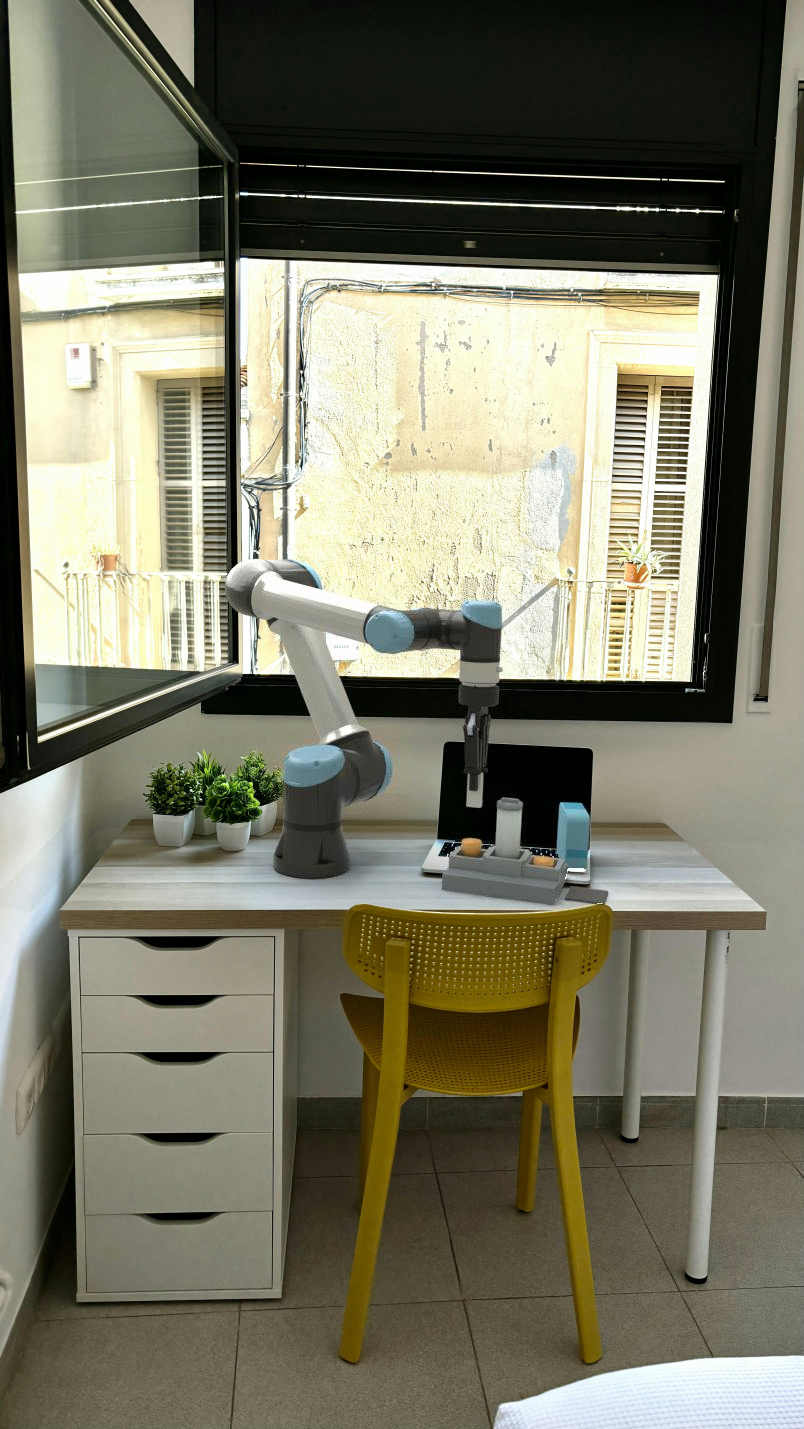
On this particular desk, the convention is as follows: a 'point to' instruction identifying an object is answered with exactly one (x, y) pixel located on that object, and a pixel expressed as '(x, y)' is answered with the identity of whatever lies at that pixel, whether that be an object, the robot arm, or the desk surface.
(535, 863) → the plunger right
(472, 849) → the plunger left
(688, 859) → the desk surface
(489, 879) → the housing
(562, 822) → the data package
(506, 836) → the cylinder
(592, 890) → the mat
